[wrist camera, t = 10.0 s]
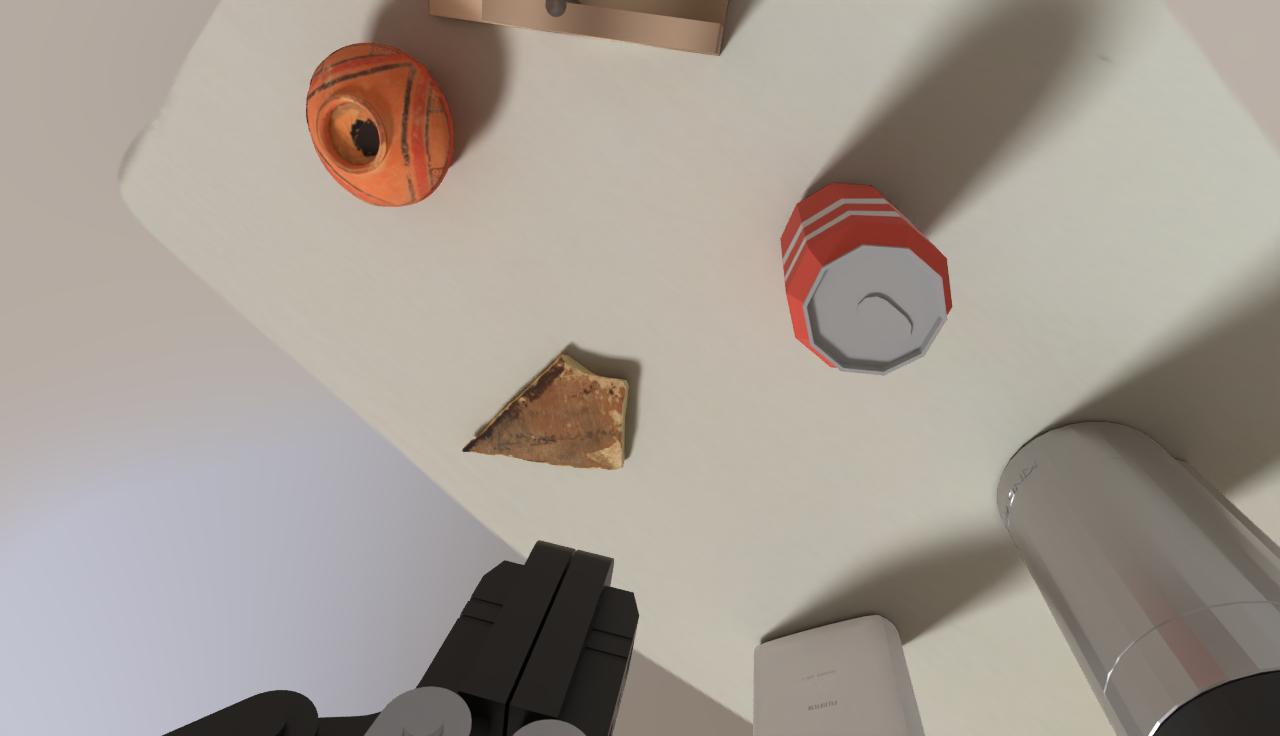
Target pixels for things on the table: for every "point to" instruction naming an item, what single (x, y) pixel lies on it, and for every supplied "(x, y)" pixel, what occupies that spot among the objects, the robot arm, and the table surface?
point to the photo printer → (835, 683)
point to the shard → (562, 420)
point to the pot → (380, 124)
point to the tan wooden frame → (605, 19)
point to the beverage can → (862, 281)
